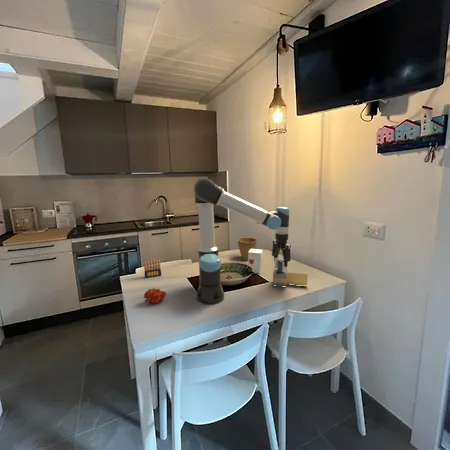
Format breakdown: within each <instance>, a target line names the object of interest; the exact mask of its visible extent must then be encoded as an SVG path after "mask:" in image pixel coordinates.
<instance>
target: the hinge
mask: <svg viewBox="0 0 450 450" xmlns="http://www.w3.org/2000/svg"><path fill="white" fill-rule="evenodd" d="M286 284H294V285H307V286H308V273H301V272H299V273H298V272H289V271H288V270H287V271H286V272H283V274H282V273H277V268H274V269H273V272H272V286H273V285H276V286H275V287H277V286H286V287H287V285H286Z"/></svg>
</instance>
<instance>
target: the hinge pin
mask: <svg viewBox="0 0 450 450" xmlns="http://www.w3.org/2000/svg"><path fill="white" fill-rule="evenodd" d="M283 261H284V259H279V260H278V265H277V268H276V269H277V273H282V274H283V272H282V269H283Z"/></svg>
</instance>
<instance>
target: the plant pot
mask: <svg viewBox="0 0 450 450" xmlns="http://www.w3.org/2000/svg"><path fill="white" fill-rule="evenodd" d="M257 242H258V241H257V238H255V237H240V238H238V239H237V243H238V245H237V246H238V249H239V253H240V255H241V259H242V260H243V261H247V262H248V252H249V250H250V249H257V248H256V247H257Z"/></svg>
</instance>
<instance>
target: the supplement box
mask: <svg viewBox="0 0 450 450" xmlns="http://www.w3.org/2000/svg"><path fill="white" fill-rule="evenodd" d="M263 254H264V249H259V248H255V249H250V250H249V252H248V261H247V267H248V266H250V267H252V268H253V270H254V273H253V274H257V273H258V274H259V275H261V273H262V271H263V256H264V255H263Z"/></svg>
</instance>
